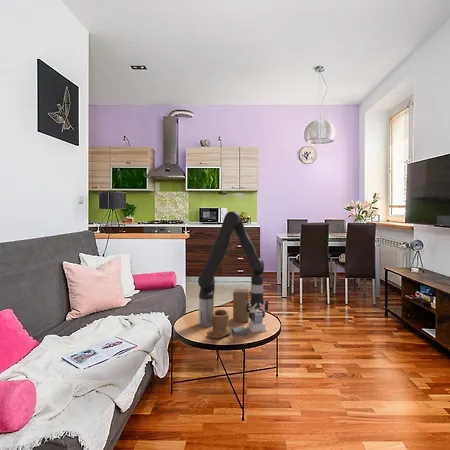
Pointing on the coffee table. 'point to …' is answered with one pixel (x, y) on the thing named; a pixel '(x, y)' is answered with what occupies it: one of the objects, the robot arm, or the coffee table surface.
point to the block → (240, 305)
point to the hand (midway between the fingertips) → (256, 317)
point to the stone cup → (219, 324)
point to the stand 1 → (239, 331)
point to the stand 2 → (256, 327)
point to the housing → (257, 317)
